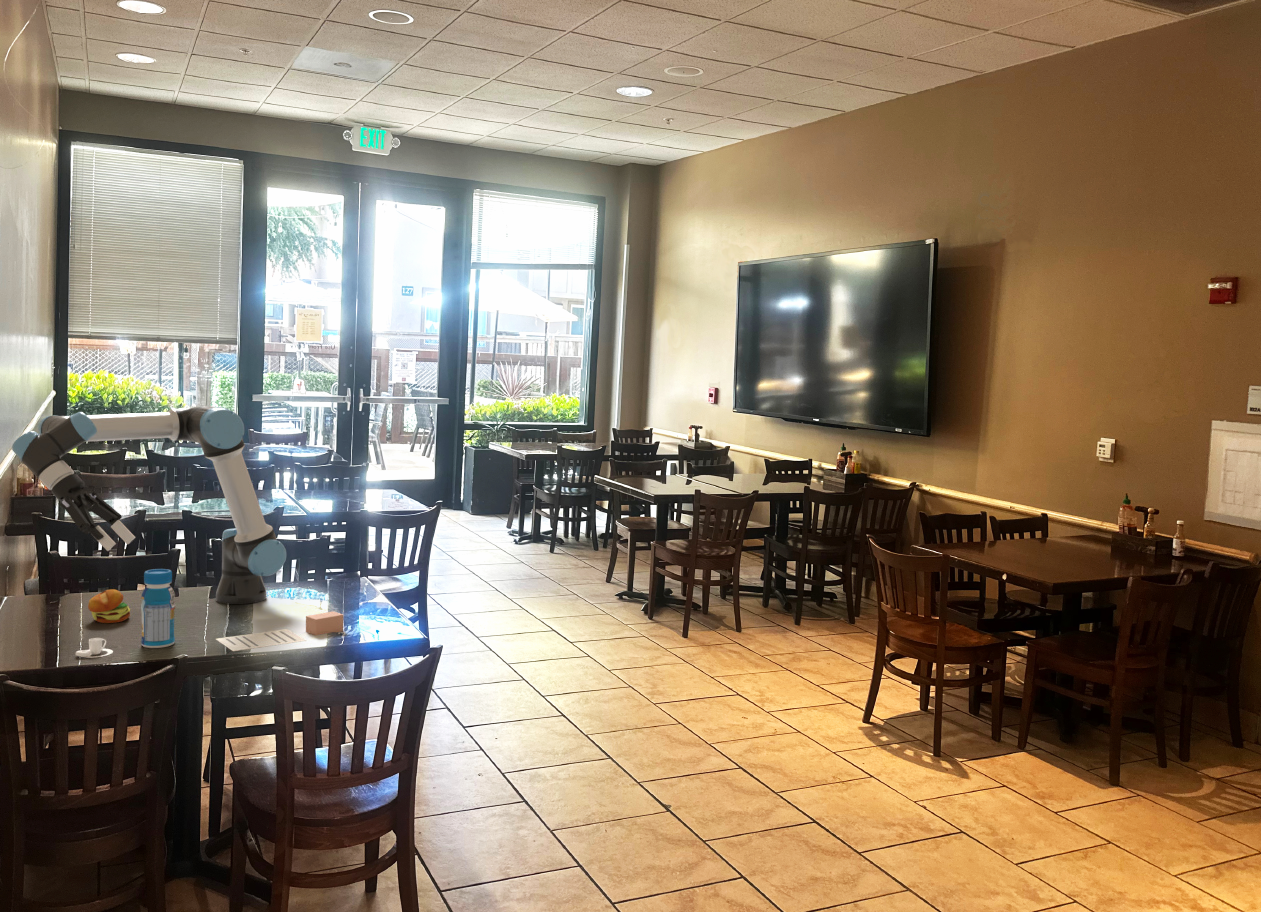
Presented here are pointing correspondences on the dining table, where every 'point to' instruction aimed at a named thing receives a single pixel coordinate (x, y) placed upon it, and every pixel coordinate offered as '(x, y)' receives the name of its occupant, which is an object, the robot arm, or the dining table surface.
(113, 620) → the cheeseburger
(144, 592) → the beverage bottle
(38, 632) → the dining table surface
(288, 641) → the letter
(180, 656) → the dining table surface
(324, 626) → the block
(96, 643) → the teacup and saucer
